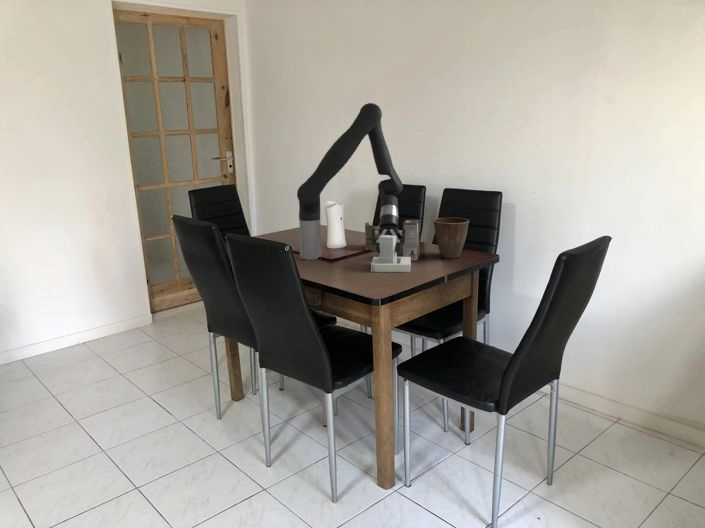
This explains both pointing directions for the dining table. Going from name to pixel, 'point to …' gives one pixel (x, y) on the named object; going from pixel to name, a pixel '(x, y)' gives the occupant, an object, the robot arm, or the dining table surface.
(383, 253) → the skincare box
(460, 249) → the plant pot
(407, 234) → the coffee box
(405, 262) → the white rectangular tray
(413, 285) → the dining table surface
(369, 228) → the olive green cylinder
